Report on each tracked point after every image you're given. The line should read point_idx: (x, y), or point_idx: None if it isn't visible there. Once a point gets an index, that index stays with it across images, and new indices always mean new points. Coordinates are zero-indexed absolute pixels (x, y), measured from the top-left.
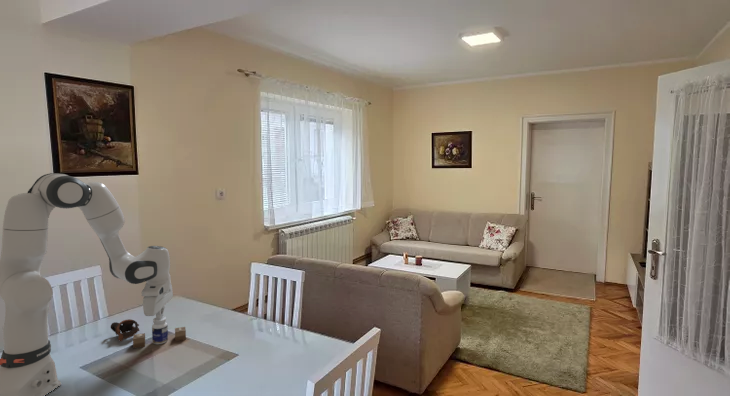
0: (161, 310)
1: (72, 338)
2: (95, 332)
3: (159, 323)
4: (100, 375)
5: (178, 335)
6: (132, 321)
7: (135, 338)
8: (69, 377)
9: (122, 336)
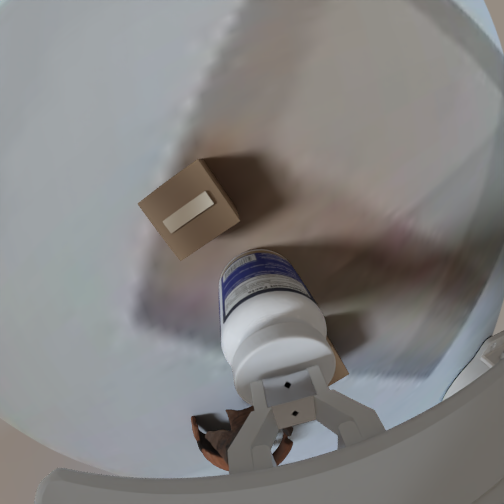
0: (266, 434)
1: None
2: None
3: (325, 338)
4: (475, 300)
5: (226, 197)
6: None
7: (345, 368)
8: (463, 355)
9: None
